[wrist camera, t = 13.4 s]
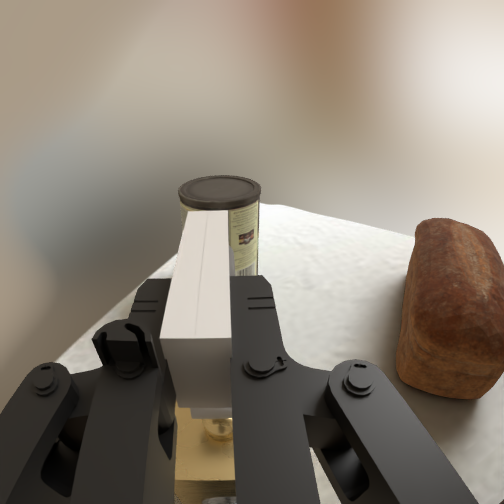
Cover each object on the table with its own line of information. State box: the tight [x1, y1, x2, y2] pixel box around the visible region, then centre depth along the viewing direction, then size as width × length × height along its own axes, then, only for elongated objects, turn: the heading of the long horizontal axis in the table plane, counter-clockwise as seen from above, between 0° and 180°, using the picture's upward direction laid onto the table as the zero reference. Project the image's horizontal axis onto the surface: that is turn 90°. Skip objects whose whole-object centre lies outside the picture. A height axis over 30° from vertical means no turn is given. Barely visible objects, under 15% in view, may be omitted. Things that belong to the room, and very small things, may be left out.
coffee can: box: [178, 175, 261, 276], centre depth 43 cm, size 10×10×14 cm
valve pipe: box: [174, 401, 237, 504], centre depth 21 cm, size 18×7×9 cm, turn 5°
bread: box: [396, 218, 504, 400], centre depth 35 cm, size 14×28×12 cm, turn 154°
